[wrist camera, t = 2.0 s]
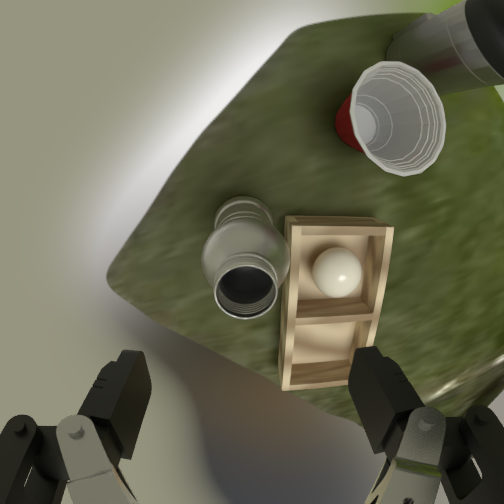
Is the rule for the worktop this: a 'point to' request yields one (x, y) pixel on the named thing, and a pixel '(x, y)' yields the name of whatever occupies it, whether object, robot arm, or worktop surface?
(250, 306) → the plastic bottle
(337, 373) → the crate
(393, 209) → the worktop surface
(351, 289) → the white ball
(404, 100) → the plastic cup
